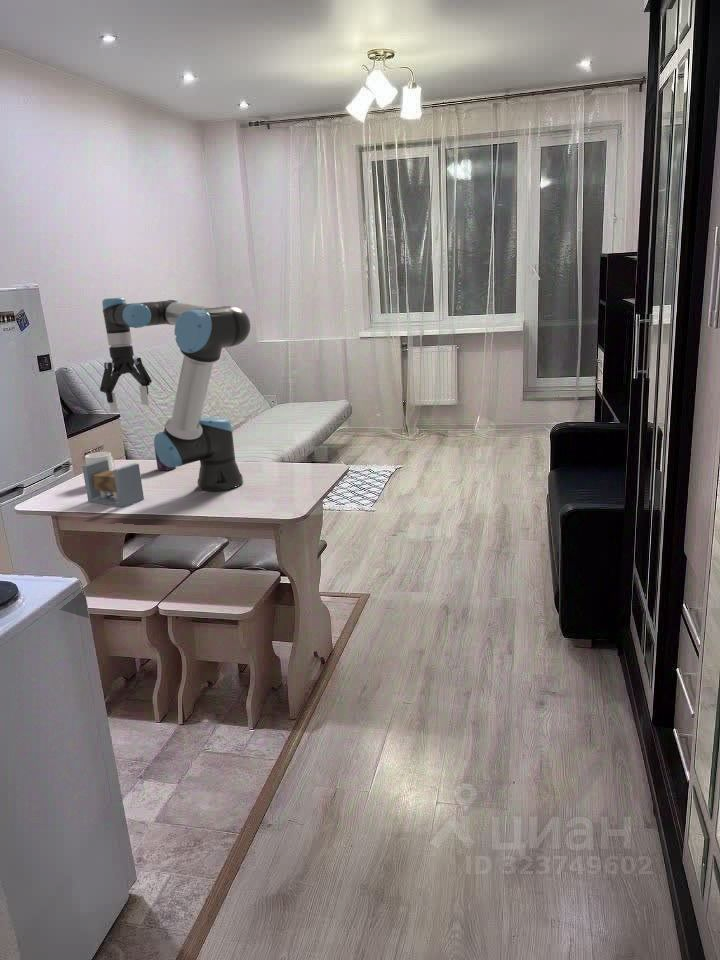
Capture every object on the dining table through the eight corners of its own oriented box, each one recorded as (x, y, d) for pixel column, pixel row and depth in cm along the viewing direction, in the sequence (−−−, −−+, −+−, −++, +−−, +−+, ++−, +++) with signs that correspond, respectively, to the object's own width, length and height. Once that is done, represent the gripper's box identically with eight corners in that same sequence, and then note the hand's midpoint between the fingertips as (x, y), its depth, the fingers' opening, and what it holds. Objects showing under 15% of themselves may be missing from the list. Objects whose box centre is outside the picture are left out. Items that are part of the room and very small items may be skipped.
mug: (126, 478, 260) (122, 449, 257) (104, 487, 250) (99, 458, 247) (107, 477, 263) (103, 449, 260) (84, 486, 253) (79, 457, 250)
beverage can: (153, 470, 268) (149, 439, 265) (165, 465, 275) (161, 435, 271) (169, 471, 266) (165, 440, 262) (180, 466, 272) (176, 435, 269)
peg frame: (144, 499, 233) (138, 463, 229) (123, 507, 226) (117, 470, 223) (109, 493, 242) (103, 459, 238) (88, 501, 235) (82, 465, 231)
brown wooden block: (95, 490, 232) (92, 475, 231) (108, 485, 237) (106, 470, 236) (118, 492, 228) (115, 477, 227) (131, 487, 233) (129, 472, 232)
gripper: (141, 341, 251) (150, 401, 257) (82, 350, 231) (92, 414, 237) (156, 341, 247) (165, 402, 253) (97, 349, 227) (108, 415, 233)
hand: (130, 408), depth 245 cm, fingers open, 13 cm apart
